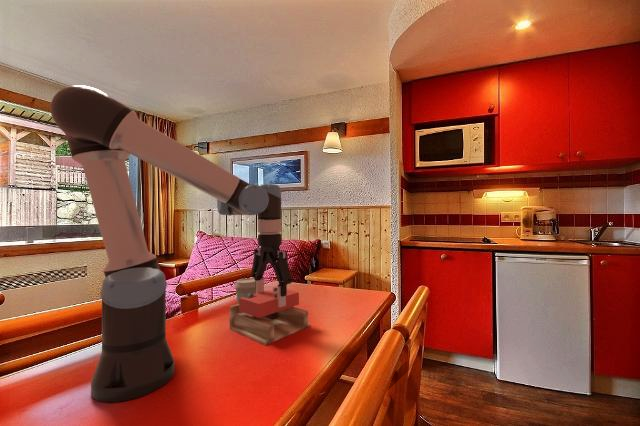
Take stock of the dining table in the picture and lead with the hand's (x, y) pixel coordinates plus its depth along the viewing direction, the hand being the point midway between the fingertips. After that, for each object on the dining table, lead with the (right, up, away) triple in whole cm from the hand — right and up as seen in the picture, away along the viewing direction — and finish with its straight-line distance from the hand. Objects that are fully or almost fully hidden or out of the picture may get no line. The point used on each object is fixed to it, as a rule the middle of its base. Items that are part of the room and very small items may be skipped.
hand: (270, 303), depth 92 cm
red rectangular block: (0, -1, 0) cm, 1 cm away
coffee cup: (-11, -8, +13) cm, 19 cm away
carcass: (0, -8, 0) cm, 8 cm away
